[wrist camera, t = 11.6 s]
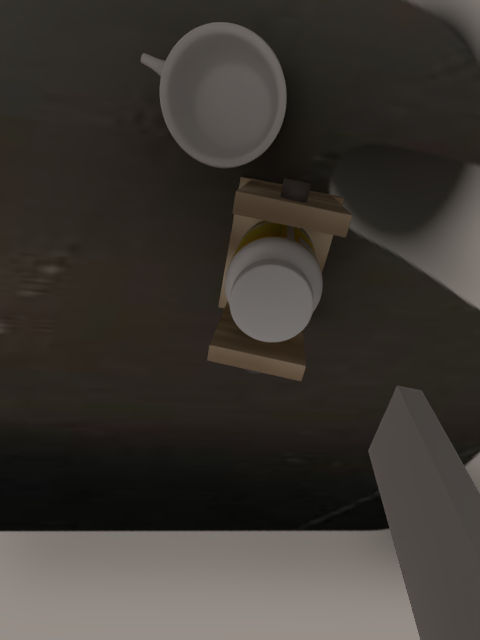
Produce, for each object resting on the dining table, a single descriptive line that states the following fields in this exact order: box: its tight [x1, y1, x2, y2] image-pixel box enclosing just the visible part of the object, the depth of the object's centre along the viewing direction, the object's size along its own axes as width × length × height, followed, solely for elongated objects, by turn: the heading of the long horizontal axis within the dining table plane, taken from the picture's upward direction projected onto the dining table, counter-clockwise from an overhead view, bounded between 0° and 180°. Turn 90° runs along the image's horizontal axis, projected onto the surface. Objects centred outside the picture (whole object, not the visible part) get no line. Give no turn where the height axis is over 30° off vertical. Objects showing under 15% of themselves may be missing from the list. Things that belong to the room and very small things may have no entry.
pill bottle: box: [225, 220, 323, 342], centre depth 25 cm, size 6×6×11 cm
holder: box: [207, 177, 352, 381], centre depth 27 cm, size 13×8×10 cm, turn 169°
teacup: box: [141, 22, 287, 168], centre depth 25 cm, size 10×8×5 cm
